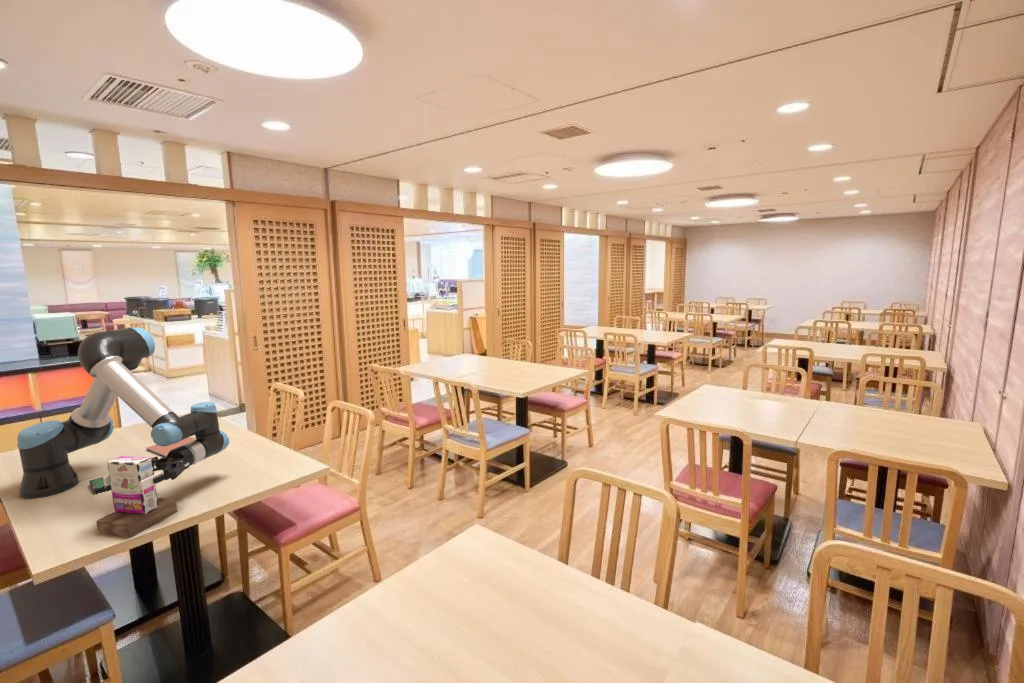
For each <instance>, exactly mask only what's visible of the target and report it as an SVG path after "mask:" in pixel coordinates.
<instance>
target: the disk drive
mask: <svg viewBox="0 0 1024 683" xmlns="http://www.w3.org/2000/svg"><path fill="white" fill-rule="evenodd" d="M106 476H107V475H105V476H102V477H98V478H96V479H91V480H89V481H88V482H89V487H90V486H91V487H90V489H91V488H92V489H91V491H93V493H95V494H96V495H99V494H98V493H100V494H103V493H102V492H104V493H106V492H105V491H107V492H110V491H112V490H111V485H108V486H104V481H103V477H106ZM109 490H110V491H109ZM95 494H94V495H95Z"/></svg>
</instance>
